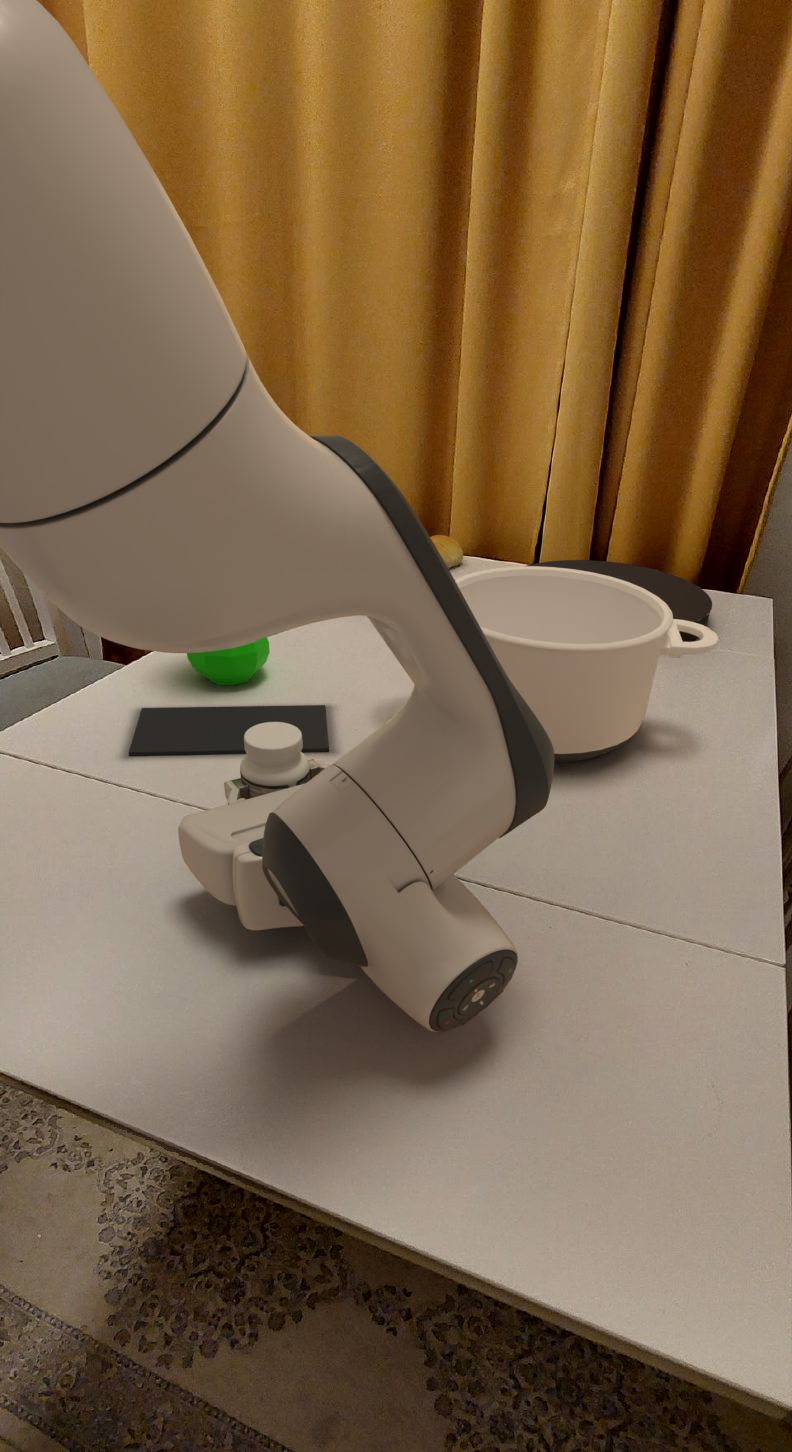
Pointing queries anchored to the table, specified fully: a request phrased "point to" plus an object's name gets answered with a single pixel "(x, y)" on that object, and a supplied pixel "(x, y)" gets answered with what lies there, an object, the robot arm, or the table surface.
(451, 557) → the bread roll
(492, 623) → the pot
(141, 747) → the slate mat
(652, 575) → the disc
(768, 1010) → the table surface
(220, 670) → the plastic bottle
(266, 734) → the pill bottle
